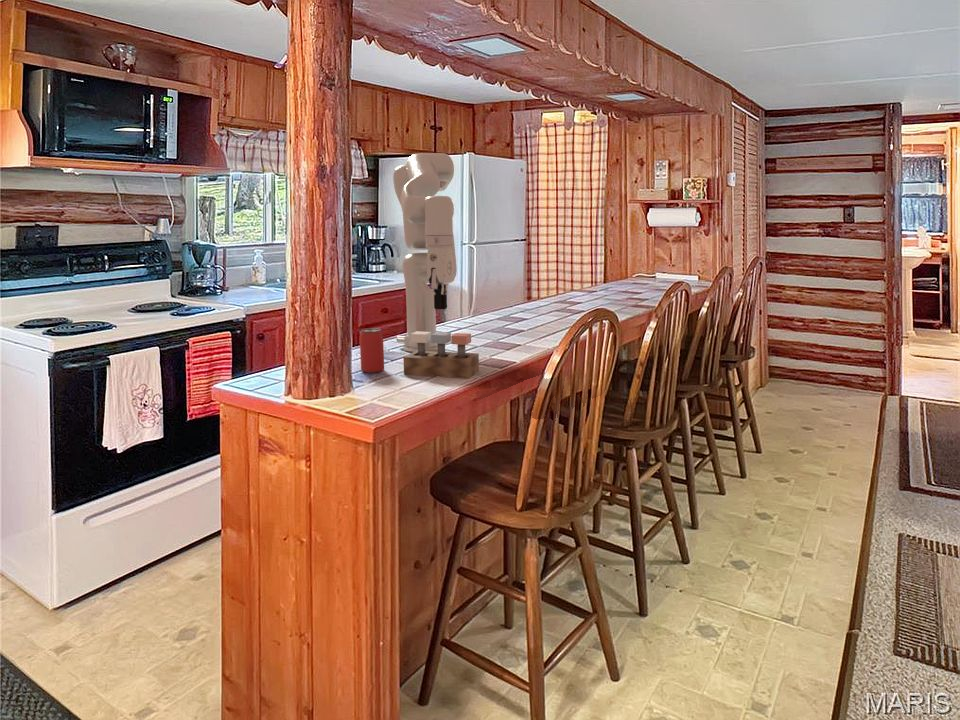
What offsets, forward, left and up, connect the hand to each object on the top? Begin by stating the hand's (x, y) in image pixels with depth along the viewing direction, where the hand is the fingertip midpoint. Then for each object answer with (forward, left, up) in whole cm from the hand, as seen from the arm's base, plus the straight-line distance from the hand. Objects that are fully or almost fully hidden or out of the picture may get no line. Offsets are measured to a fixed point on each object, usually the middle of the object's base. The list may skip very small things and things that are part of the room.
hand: (440, 308), depth 200 cm
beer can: (-20, -3, -19) cm, 28 cm away
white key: (-6, 0, -15) cm, 16 cm away
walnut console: (0, 0, -18) cm, 18 cm away
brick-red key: (+6, 0, -15) cm, 16 cm away
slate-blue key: (0, 0, -14) cm, 15 cm away
